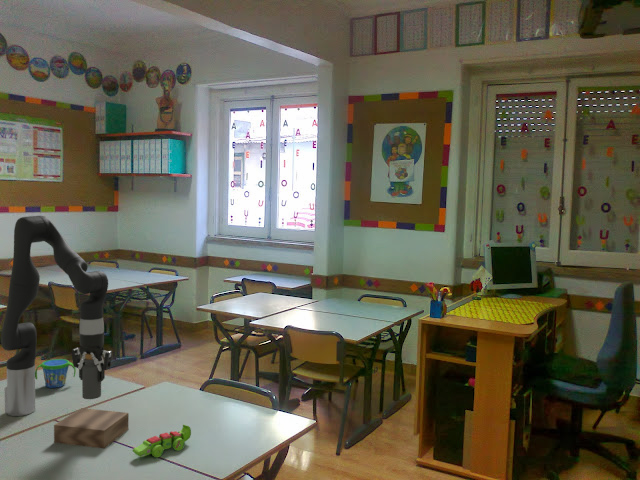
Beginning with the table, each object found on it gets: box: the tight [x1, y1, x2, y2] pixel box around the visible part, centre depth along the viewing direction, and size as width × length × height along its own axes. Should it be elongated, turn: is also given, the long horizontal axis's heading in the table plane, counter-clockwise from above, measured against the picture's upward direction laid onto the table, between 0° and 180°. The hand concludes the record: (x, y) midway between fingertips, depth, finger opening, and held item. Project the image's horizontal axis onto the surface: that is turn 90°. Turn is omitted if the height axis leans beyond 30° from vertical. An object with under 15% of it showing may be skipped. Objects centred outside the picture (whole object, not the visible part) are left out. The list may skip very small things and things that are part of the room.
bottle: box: [81, 354, 102, 400], centre depth 185 cm, size 6×6×15 cm
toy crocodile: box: [132, 423, 192, 458], centre depth 177 cm, size 20×7×6 cm, turn 134°
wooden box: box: [53, 407, 129, 449], centre depth 186 cm, size 18×15×6 cm
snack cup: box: [35, 358, 77, 389], centre depth 233 cm, size 16×10×10 cm
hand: (91, 380), depth 185 cm, fingers closed on bottle, 6 cm apart
